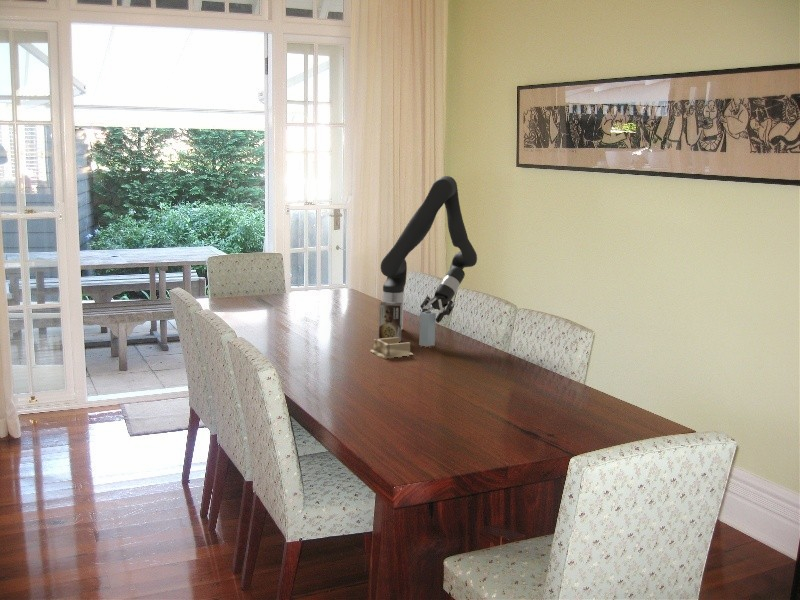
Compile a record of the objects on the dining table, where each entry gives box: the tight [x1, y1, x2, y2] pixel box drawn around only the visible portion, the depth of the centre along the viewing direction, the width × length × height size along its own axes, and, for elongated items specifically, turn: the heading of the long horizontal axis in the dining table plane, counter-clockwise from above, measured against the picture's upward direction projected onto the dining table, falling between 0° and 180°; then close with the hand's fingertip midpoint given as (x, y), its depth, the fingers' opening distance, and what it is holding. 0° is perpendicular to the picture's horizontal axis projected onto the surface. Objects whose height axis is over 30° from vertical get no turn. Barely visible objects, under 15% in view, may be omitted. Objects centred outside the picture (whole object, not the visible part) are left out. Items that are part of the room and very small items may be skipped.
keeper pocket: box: [369, 337, 414, 360], centre depth 350 cm, size 12×13×5 cm
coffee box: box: [378, 301, 402, 343], centre depth 370 cm, size 9×6×16 cm
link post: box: [418, 310, 437, 346], centre depth 363 cm, size 4×4×15 cm
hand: (429, 319), depth 363 cm, fingers open, 8 cm apart
